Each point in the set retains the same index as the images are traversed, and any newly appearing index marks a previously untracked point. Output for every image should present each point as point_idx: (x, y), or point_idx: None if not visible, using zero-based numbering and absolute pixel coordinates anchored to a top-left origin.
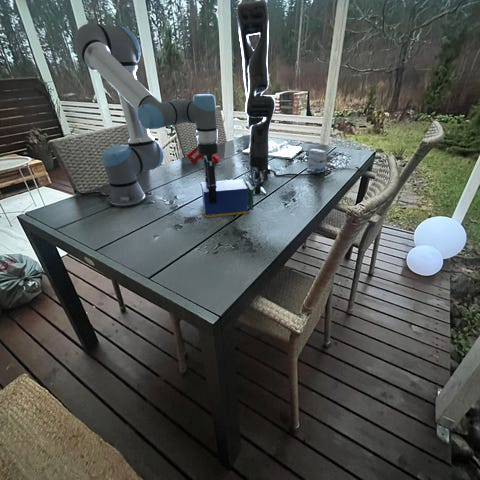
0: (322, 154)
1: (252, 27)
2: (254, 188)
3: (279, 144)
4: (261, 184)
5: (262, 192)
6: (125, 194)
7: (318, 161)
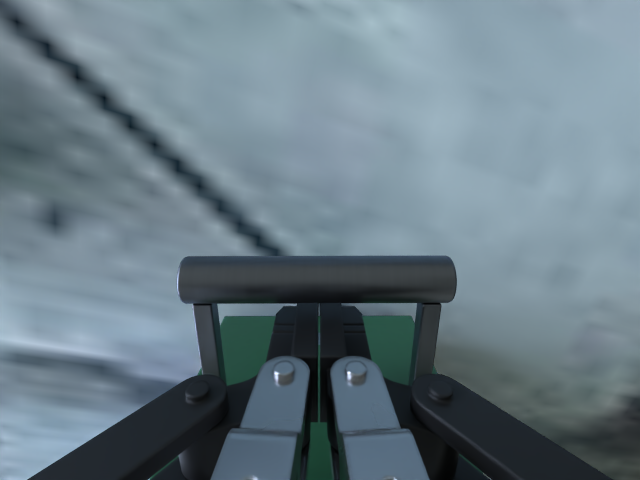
0: None
1: None
2: (218, 353)
3: None
4: (461, 431)
5: (392, 302)
6: None
7: None
